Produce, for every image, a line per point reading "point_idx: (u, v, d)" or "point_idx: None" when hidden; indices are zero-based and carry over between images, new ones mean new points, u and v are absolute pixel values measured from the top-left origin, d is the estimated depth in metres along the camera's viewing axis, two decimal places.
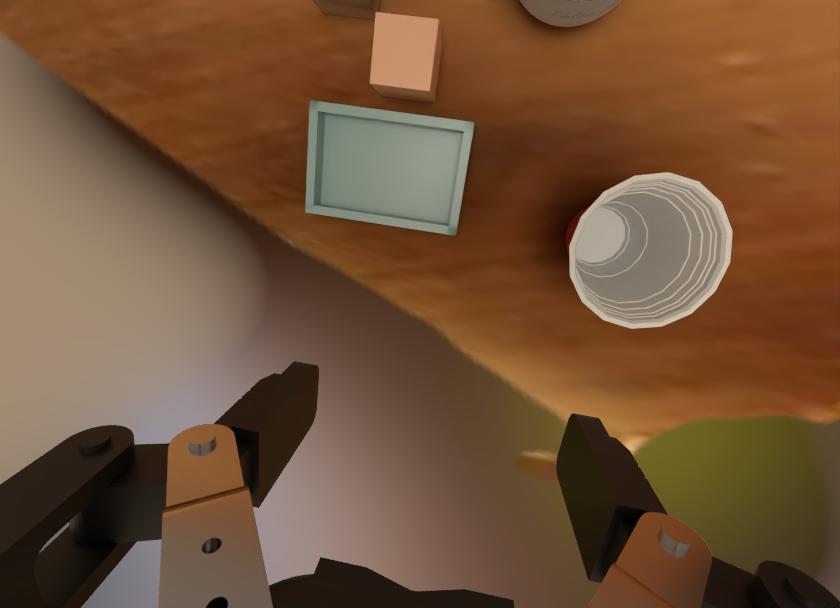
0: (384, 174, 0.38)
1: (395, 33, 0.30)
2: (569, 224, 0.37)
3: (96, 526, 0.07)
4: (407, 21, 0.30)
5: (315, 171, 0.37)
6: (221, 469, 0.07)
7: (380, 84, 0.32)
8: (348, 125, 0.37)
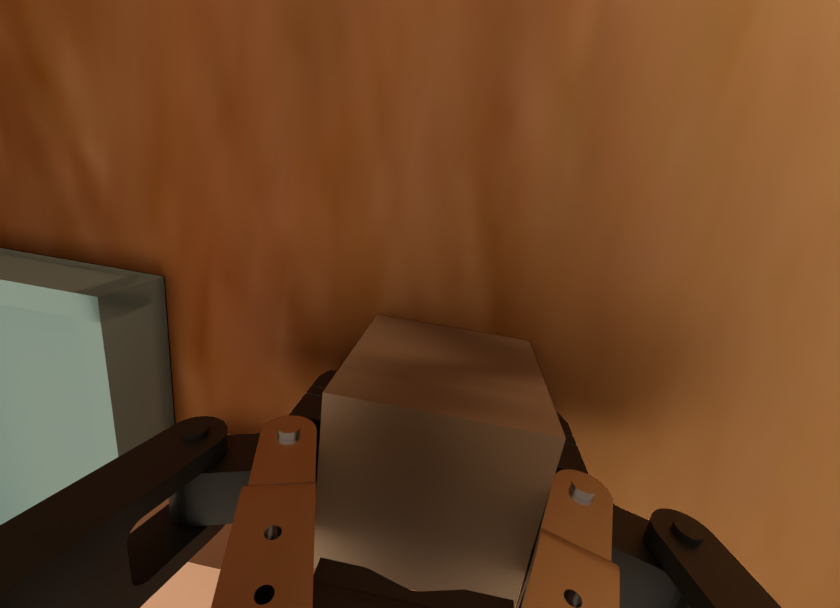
0: (37, 431, 0.15)
1: None
2: None
3: (187, 510, 0.08)
4: None
5: None
6: (313, 456, 0.08)
7: None
8: None
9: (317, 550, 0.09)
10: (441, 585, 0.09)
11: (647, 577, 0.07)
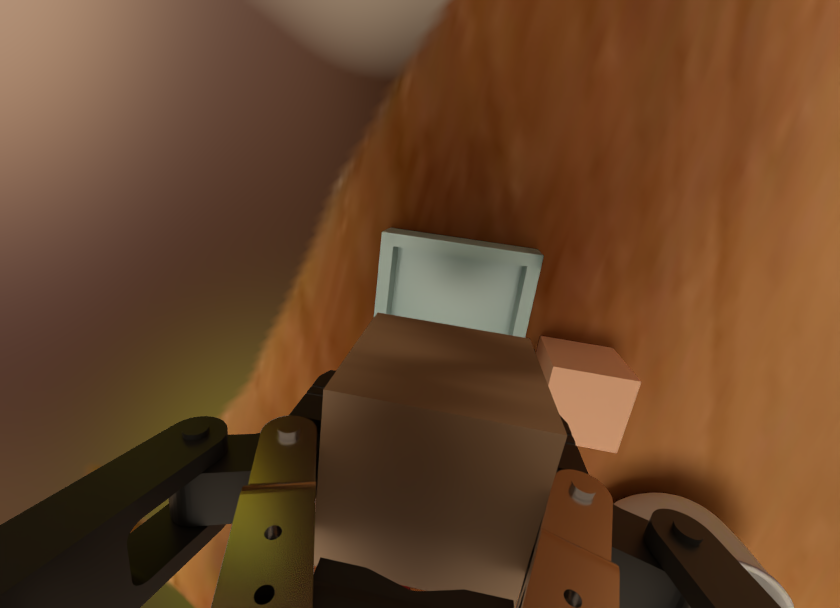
0: None
1: (609, 403, 0.23)
2: None
3: (187, 510, 0.08)
4: (621, 418, 0.23)
5: None
6: (313, 456, 0.08)
7: (550, 379, 0.23)
8: (506, 292, 0.26)
9: (318, 548, 0.09)
10: (442, 583, 0.09)
11: (647, 577, 0.07)
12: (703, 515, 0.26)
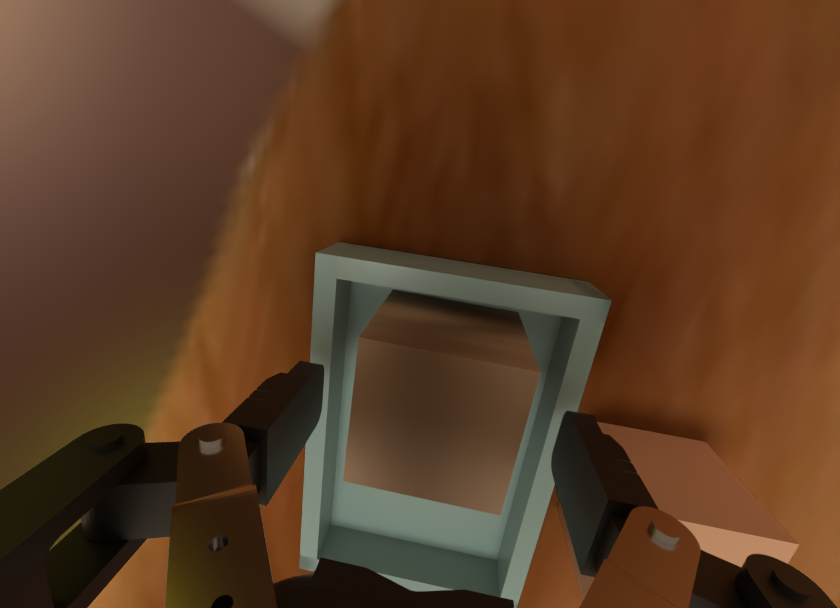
0: None
1: None
2: None
3: (106, 523, 0.08)
4: None
5: None
6: (231, 467, 0.07)
7: None
8: (534, 354, 0.15)
9: (348, 466, 0.12)
10: (445, 494, 0.12)
11: None
12: None
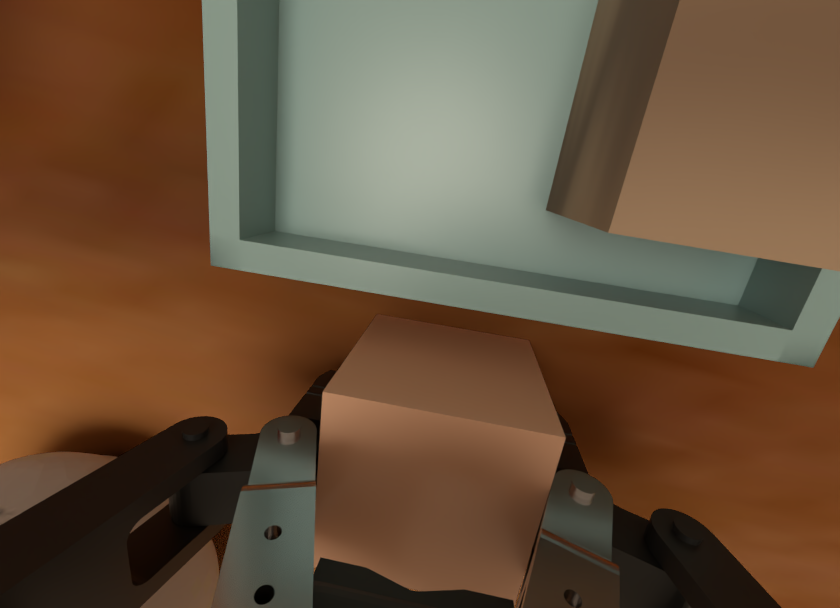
0: (547, 90, 0.10)
1: (449, 556, 0.09)
2: None
3: (187, 509, 0.08)
4: (409, 576, 0.09)
5: None
6: (313, 456, 0.08)
7: (520, 428, 0.08)
8: (659, 268, 0.11)
9: None
10: (676, 106, 0.05)
11: (647, 577, 0.07)
12: None
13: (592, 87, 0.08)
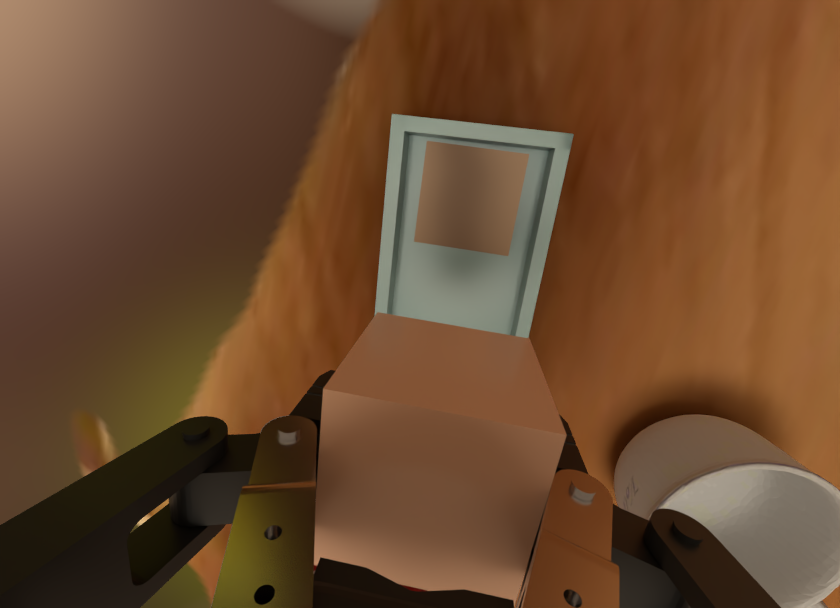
0: None
1: (450, 553, 0.09)
2: None
3: (187, 509, 0.08)
4: (409, 574, 0.09)
5: (459, 137, 0.22)
6: (313, 456, 0.08)
7: (520, 425, 0.08)
8: (529, 190, 0.24)
9: (417, 230, 0.20)
10: (475, 244, 0.20)
11: (647, 577, 0.07)
12: (747, 431, 0.23)
13: None
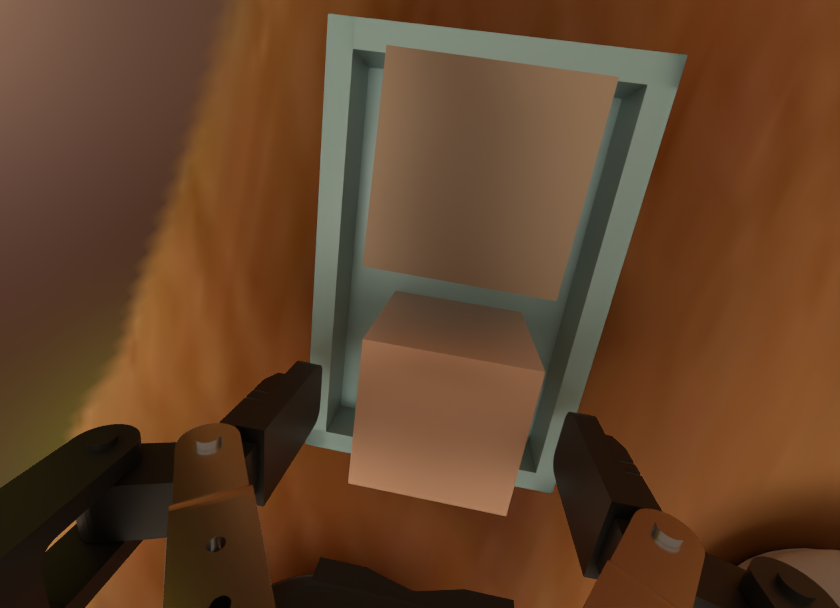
0: None
1: (457, 470, 0.12)
2: None
3: (102, 524, 0.08)
4: (425, 489, 0.12)
5: None
6: (228, 468, 0.07)
7: (511, 365, 0.10)
8: None
9: (369, 244, 0.10)
10: (488, 274, 0.10)
11: None
12: None
13: None
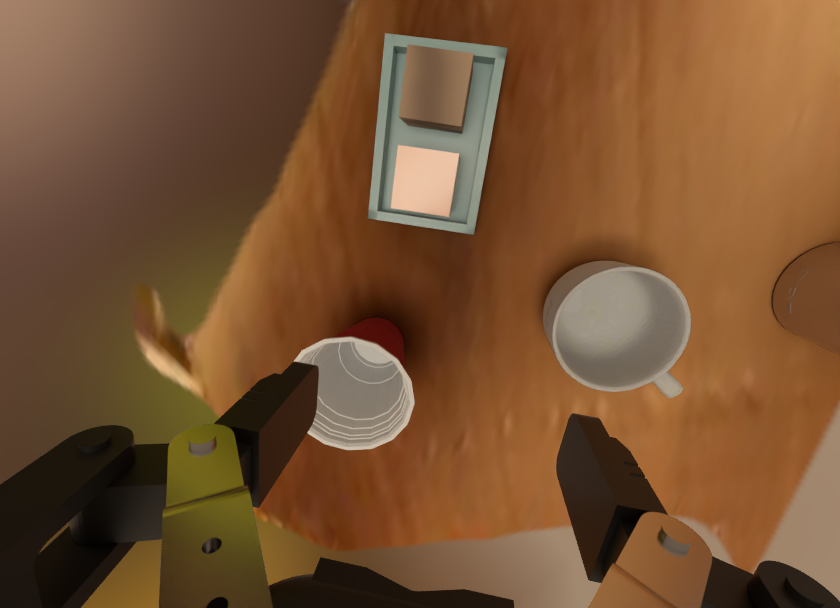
0: (430, 137, 0.35)
1: (430, 197, 0.32)
2: (385, 320, 0.41)
3: (96, 526, 0.07)
4: (419, 207, 0.32)
5: None
6: (221, 469, 0.07)
7: (448, 152, 0.31)
8: (481, 93, 0.34)
9: (401, 109, 0.30)
10: (439, 117, 0.30)
11: None
12: None
13: (431, 127, 0.34)
